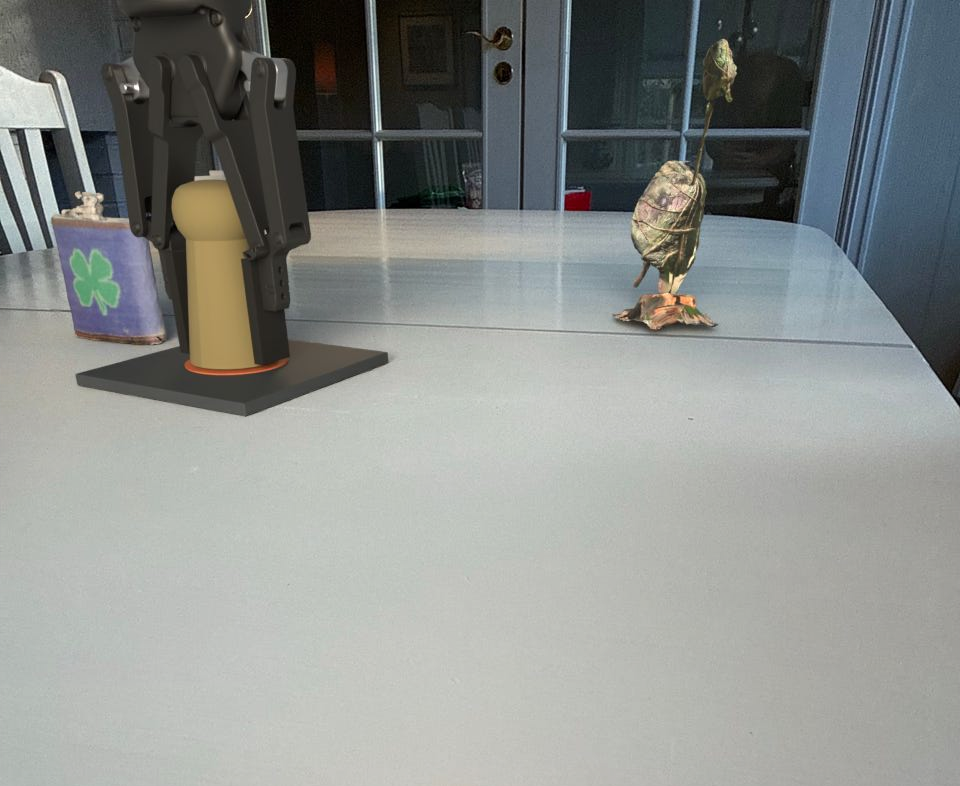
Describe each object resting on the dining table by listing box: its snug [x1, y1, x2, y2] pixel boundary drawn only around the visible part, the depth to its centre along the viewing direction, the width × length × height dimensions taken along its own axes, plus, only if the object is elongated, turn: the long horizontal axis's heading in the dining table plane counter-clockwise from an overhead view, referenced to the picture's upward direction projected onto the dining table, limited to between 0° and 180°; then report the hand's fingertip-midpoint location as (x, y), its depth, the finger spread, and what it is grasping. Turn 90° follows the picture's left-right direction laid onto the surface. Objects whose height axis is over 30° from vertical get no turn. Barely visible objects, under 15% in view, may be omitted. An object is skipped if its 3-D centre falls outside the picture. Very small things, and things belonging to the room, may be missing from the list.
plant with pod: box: [611, 38, 738, 330], centre depth 71 cm, size 8×11×20 cm
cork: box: [172, 179, 261, 369], centre depth 59 cm, size 6×6×11 cm
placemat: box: [74, 338, 389, 417], centre depth 62 cm, size 15×15×1 cm
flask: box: [50, 190, 168, 346], centre depth 70 cm, size 9×3×11 cm, turn 63°
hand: (234, 354), depth 62 cm, fingers closed on cork, 6 cm apart
